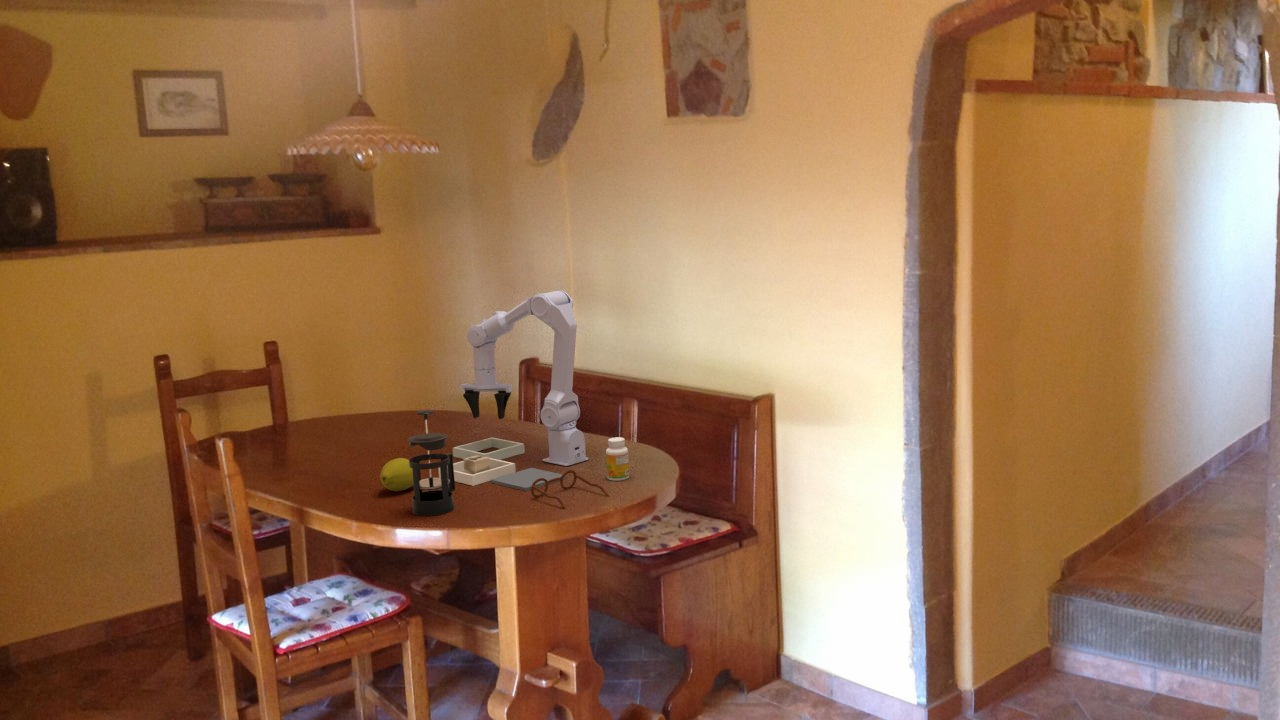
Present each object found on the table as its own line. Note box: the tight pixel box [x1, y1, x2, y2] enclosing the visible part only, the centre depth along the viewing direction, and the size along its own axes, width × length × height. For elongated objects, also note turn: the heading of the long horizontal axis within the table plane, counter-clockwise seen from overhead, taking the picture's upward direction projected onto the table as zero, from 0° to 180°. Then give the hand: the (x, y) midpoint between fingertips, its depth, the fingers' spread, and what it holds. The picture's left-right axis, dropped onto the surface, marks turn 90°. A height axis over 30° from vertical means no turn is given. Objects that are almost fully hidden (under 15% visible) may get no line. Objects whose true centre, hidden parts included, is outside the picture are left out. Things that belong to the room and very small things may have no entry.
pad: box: [490, 467, 567, 492], centre depth 272 cm, size 13×13×1 cm
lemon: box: [379, 457, 414, 493], centre depth 268 cm, size 11×8×8 cm
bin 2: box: [437, 458, 517, 487], centre depth 280 cm, size 14×14×2 cm
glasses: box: [530, 469, 610, 510], centre depth 256 cm, size 13×13×5 cm
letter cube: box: [463, 455, 490, 475], centre depth 280 cm, size 4×4×5 cm
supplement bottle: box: [605, 436, 630, 482], centre depth 270 cm, size 5×5×10 cm
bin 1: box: [452, 436, 526, 460], centre depth 300 cm, size 14×14×2 cm
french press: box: [406, 409, 456, 517], centre depth 251 cm, size 12×9×23 cm
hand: (488, 417), depth 302 cm, fingers open, 7 cm apart
